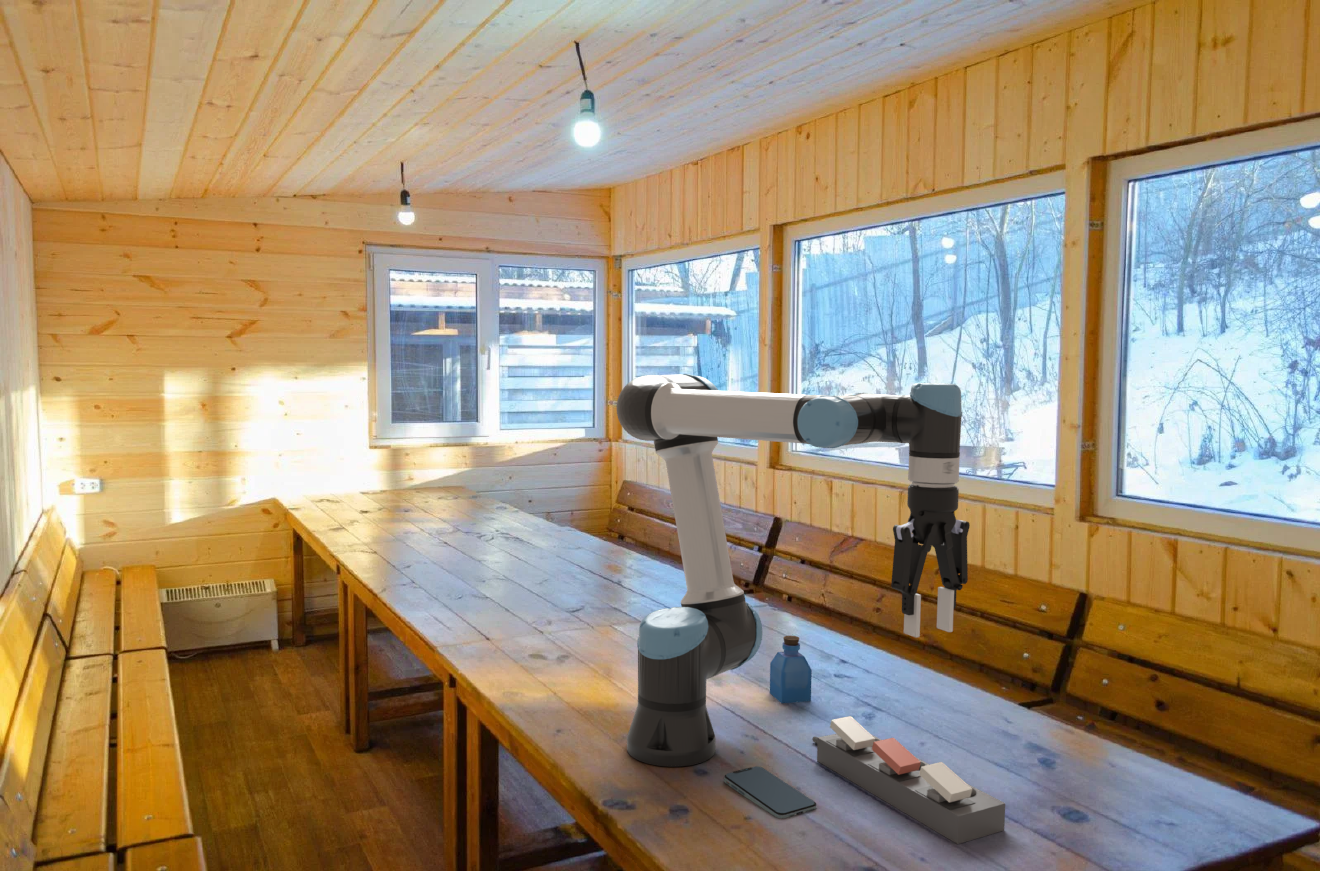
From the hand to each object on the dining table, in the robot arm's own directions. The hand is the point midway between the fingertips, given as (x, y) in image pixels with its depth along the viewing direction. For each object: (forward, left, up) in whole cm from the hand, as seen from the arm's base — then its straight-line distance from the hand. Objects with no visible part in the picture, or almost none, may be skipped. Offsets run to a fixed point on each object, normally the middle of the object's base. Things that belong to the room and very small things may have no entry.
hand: (928, 632), depth 155 cm
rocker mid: (-6, 0, -19) cm, 20 cm away
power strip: (-4, +3, -25) cm, 25 cm away
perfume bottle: (+6, +44, -25) cm, 51 cm away
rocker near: (-6, -10, -19) cm, 22 cm away
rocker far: (-6, +11, -19) cm, 22 cm away
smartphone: (-23, +9, -26) cm, 36 cm away
